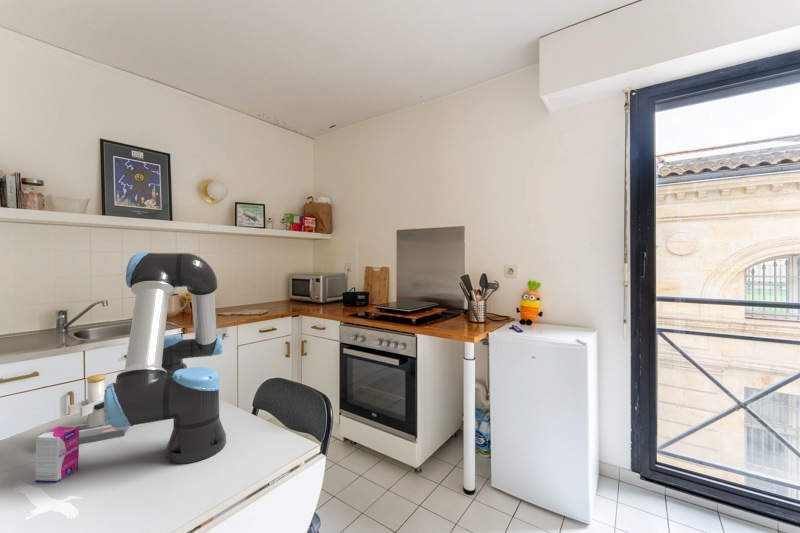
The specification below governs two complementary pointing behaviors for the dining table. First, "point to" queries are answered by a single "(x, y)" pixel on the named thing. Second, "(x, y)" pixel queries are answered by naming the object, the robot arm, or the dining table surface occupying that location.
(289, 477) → the dining table surface
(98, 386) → the switch handle
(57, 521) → the dining table surface
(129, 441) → the dining table surface
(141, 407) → the robot arm
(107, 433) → the switch panel
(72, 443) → the supplement box
